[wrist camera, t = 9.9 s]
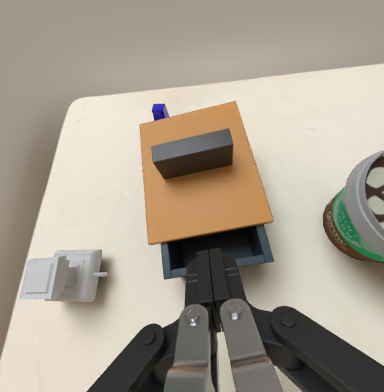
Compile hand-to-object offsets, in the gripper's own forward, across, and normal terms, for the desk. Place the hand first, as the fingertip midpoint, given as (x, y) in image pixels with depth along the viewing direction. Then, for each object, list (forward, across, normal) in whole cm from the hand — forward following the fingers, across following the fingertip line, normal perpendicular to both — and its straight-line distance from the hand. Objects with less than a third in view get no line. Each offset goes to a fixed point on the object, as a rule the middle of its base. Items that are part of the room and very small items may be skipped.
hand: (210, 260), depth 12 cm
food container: (+12, -17, +10) cm, 23 cm away
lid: (+13, 0, -2) cm, 13 cm away
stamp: (+13, +20, +10) cm, 25 cm away
